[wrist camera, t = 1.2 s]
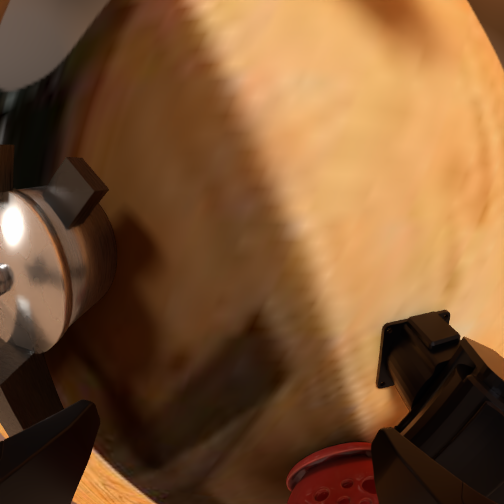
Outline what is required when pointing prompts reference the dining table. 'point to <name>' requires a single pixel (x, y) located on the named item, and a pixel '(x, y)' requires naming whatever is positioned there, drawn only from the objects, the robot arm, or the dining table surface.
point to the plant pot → (334, 476)
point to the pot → (80, 230)
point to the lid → (28, 304)
